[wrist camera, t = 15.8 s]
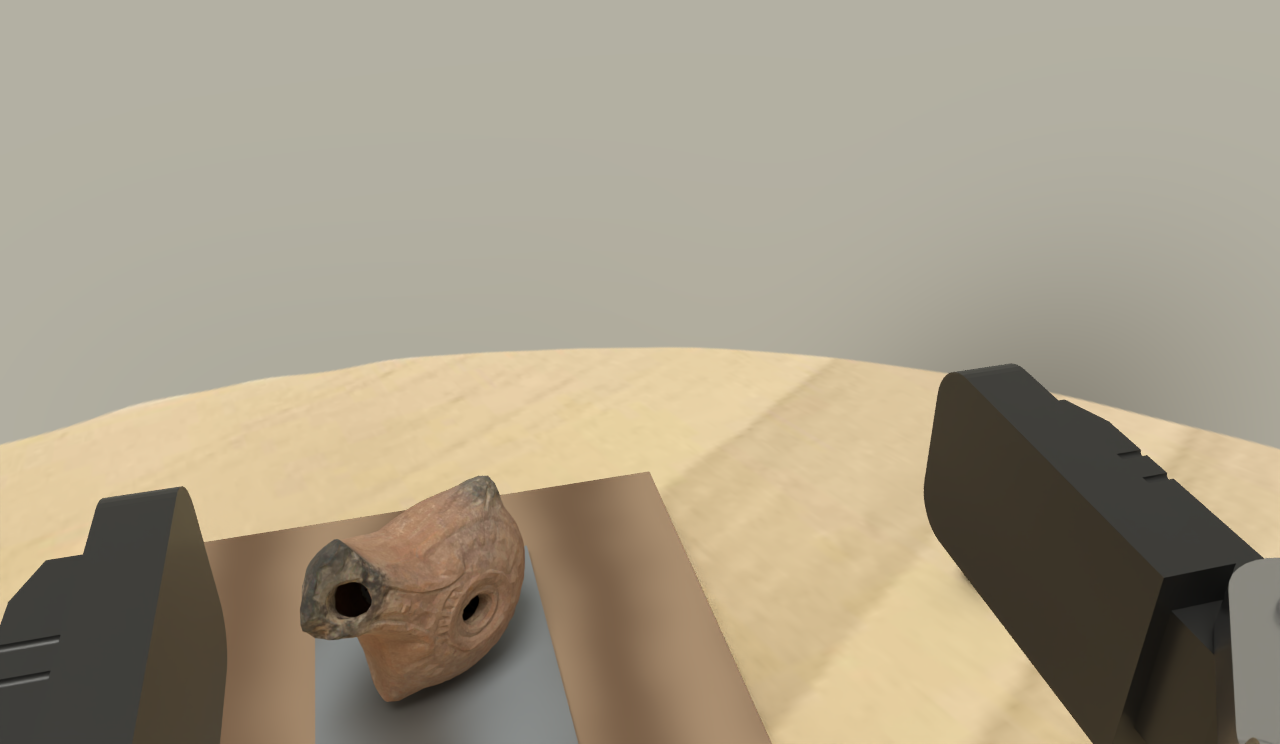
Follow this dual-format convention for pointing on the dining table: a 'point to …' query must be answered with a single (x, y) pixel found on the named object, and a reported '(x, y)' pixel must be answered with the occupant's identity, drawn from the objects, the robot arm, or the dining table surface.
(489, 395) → the dining table surface
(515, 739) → the wooden block
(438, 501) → the oil lamp
